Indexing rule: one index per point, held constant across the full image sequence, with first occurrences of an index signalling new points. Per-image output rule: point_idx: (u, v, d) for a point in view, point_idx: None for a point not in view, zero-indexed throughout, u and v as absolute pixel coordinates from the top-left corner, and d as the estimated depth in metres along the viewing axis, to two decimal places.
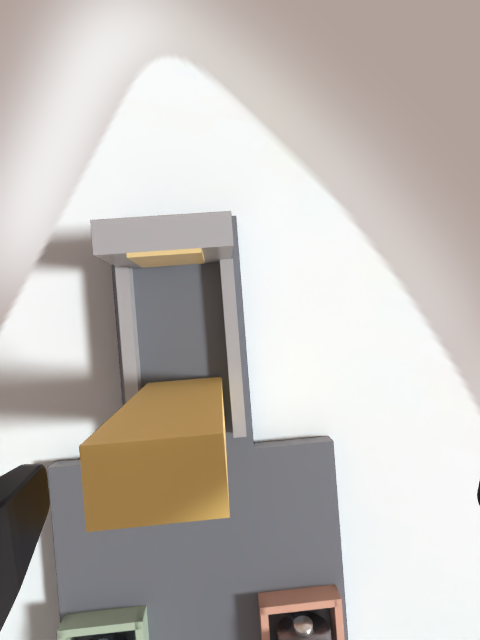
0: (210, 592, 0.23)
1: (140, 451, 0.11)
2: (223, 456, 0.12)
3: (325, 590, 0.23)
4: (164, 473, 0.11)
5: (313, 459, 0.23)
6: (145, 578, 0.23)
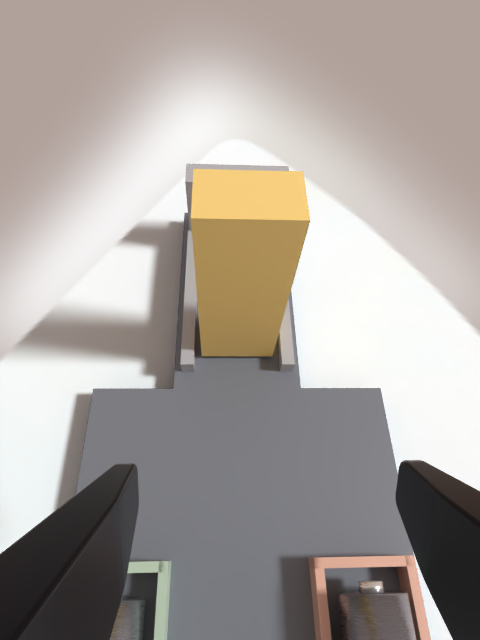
0: (250, 551, 0.19)
1: (239, 175, 0.15)
2: (303, 183, 0.15)
3: None
4: (257, 189, 0.14)
5: (361, 404, 0.22)
6: (174, 523, 0.19)
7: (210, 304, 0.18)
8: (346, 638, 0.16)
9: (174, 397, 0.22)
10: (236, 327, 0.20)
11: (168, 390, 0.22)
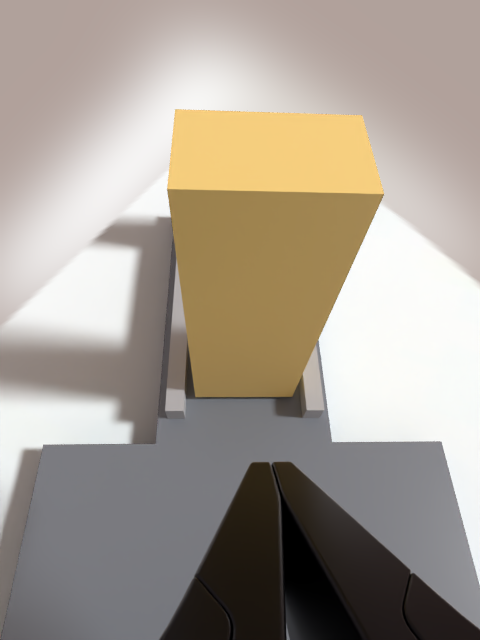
0: None
1: (254, 119, 0.09)
2: (365, 132, 0.08)
3: None
4: (286, 143, 0.08)
5: (417, 464, 0.16)
6: None
7: (206, 332, 0.12)
8: None
9: (156, 457, 0.16)
10: (244, 363, 0.14)
11: (148, 446, 0.16)
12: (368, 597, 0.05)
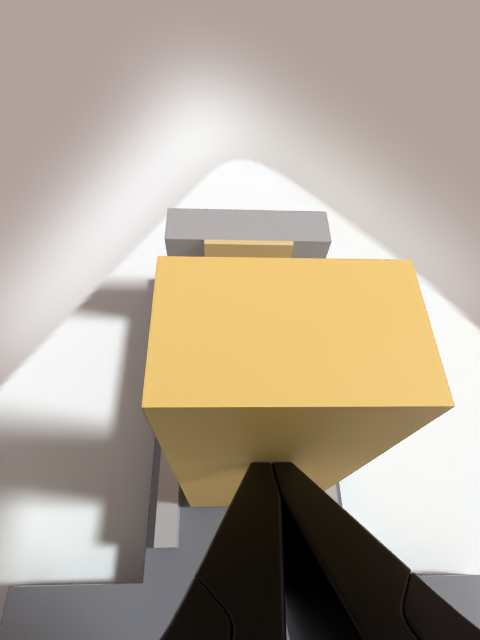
0: None
1: (266, 272, 0.06)
2: (419, 292, 0.06)
3: None
4: (309, 312, 0.06)
5: None
6: None
7: (201, 480, 0.10)
8: None
9: (143, 601, 0.13)
10: None
11: (134, 587, 0.13)
12: (368, 597, 0.05)
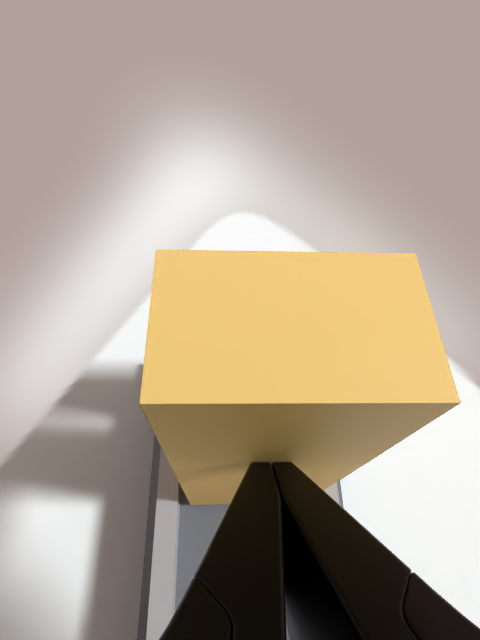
0: None
1: (267, 266, 0.06)
2: (423, 286, 0.06)
3: None
4: (312, 307, 0.06)
5: None
6: None
7: (201, 478, 0.10)
8: None
9: None
10: None
11: None
12: (368, 597, 0.05)
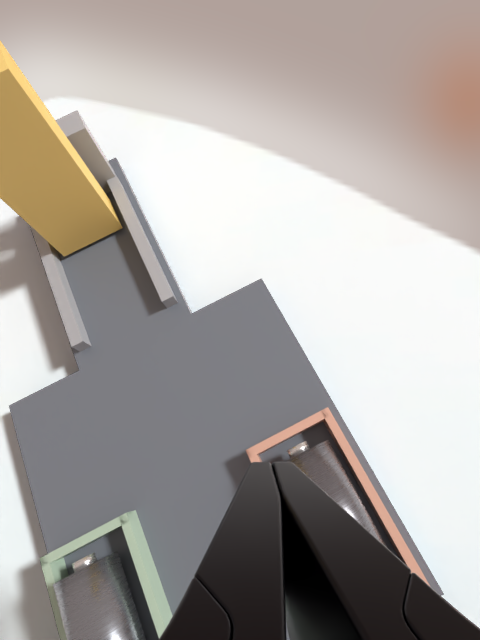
0: (198, 470, 0.20)
1: None
2: None
3: None
4: None
5: (249, 300, 0.23)
6: (126, 480, 0.21)
7: (15, 197, 0.20)
8: None
9: (83, 377, 0.23)
10: (62, 211, 0.22)
11: (75, 374, 0.23)
12: (368, 597, 0.05)
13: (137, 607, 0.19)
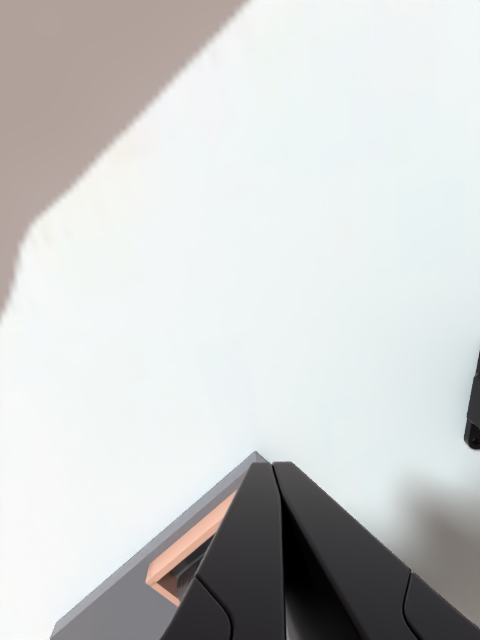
0: None
1: None
2: None
3: None
4: None
5: None
6: None
7: None
8: None
9: None
10: None
11: None
12: (368, 597, 0.05)
13: None
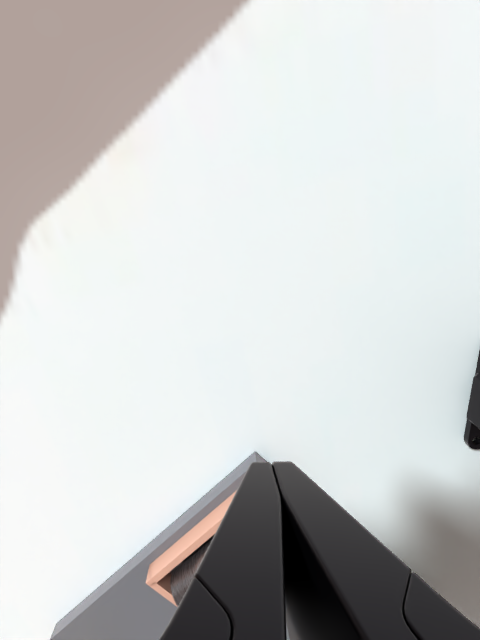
0: None
1: None
2: None
3: None
4: None
5: None
6: None
7: None
8: None
9: None
10: None
11: None
12: (368, 597, 0.05)
13: None
